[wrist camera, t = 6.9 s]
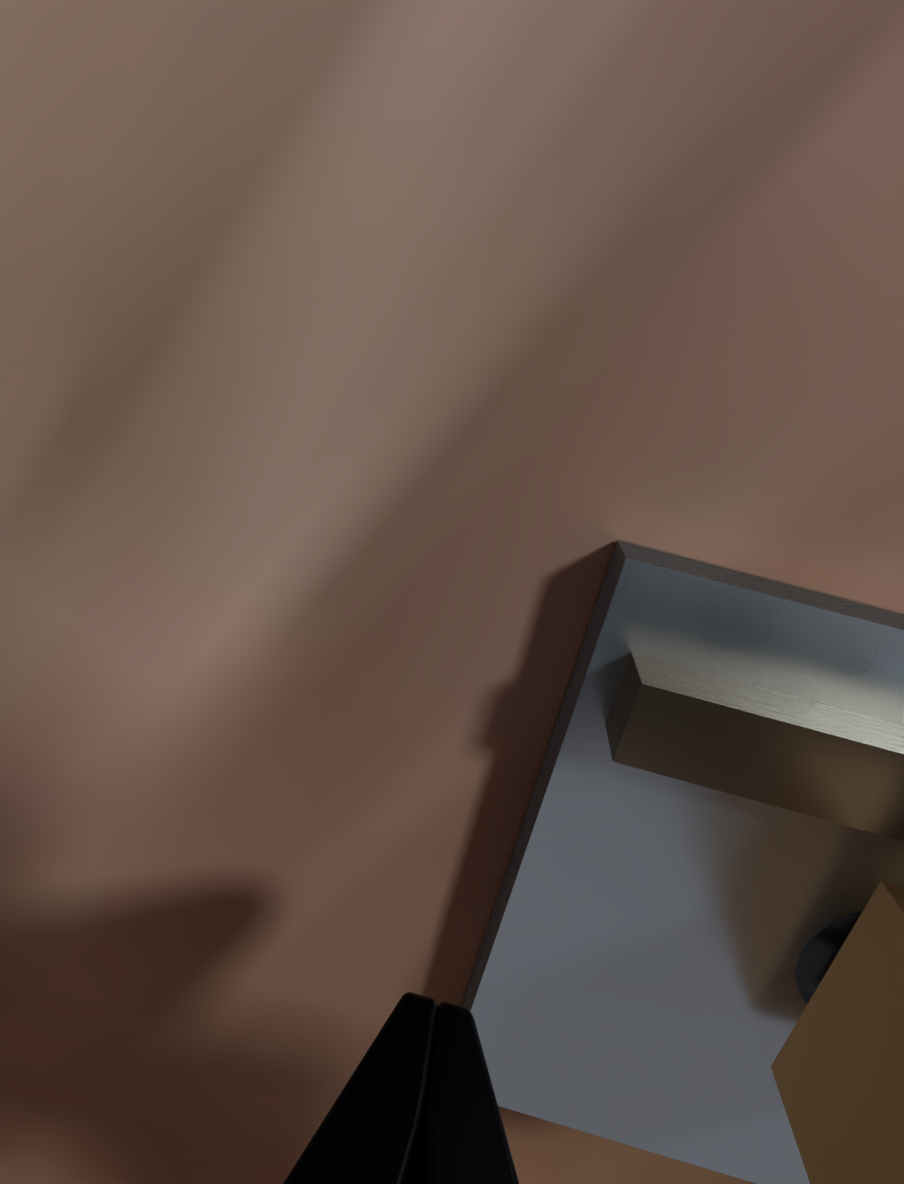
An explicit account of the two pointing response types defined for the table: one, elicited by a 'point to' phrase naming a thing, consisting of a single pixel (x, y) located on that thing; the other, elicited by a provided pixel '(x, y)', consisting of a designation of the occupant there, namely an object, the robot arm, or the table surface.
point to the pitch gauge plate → (693, 859)
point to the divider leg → (852, 1056)
